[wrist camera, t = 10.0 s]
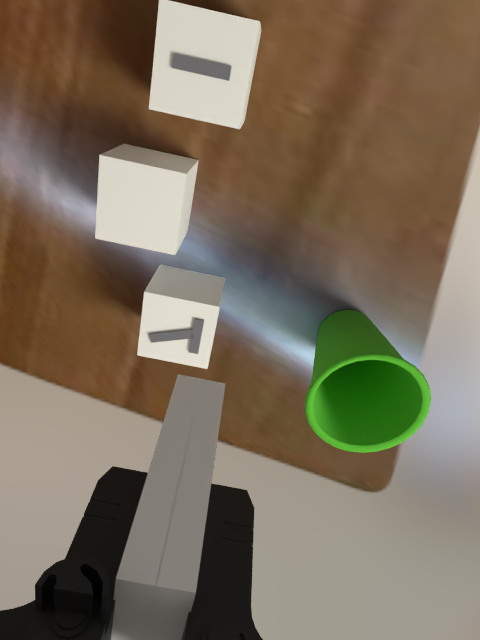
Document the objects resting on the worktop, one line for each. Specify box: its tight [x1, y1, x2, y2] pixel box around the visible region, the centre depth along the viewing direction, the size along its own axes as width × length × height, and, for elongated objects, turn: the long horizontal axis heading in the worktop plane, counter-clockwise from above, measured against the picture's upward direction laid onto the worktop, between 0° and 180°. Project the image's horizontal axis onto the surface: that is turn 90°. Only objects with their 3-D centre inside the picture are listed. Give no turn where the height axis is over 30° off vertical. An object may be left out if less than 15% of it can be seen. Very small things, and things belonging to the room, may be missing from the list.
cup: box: [305, 310, 431, 453], centre depth 38 cm, size 9×9×11 cm
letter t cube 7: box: [137, 264, 226, 369], centre depth 40 cm, size 6×6×6 cm
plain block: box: [95, 144, 198, 255], centre depth 35 cm, size 6×6×6 cm
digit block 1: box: [149, 0, 261, 129], centre depth 31 cm, size 6×6×6 cm
